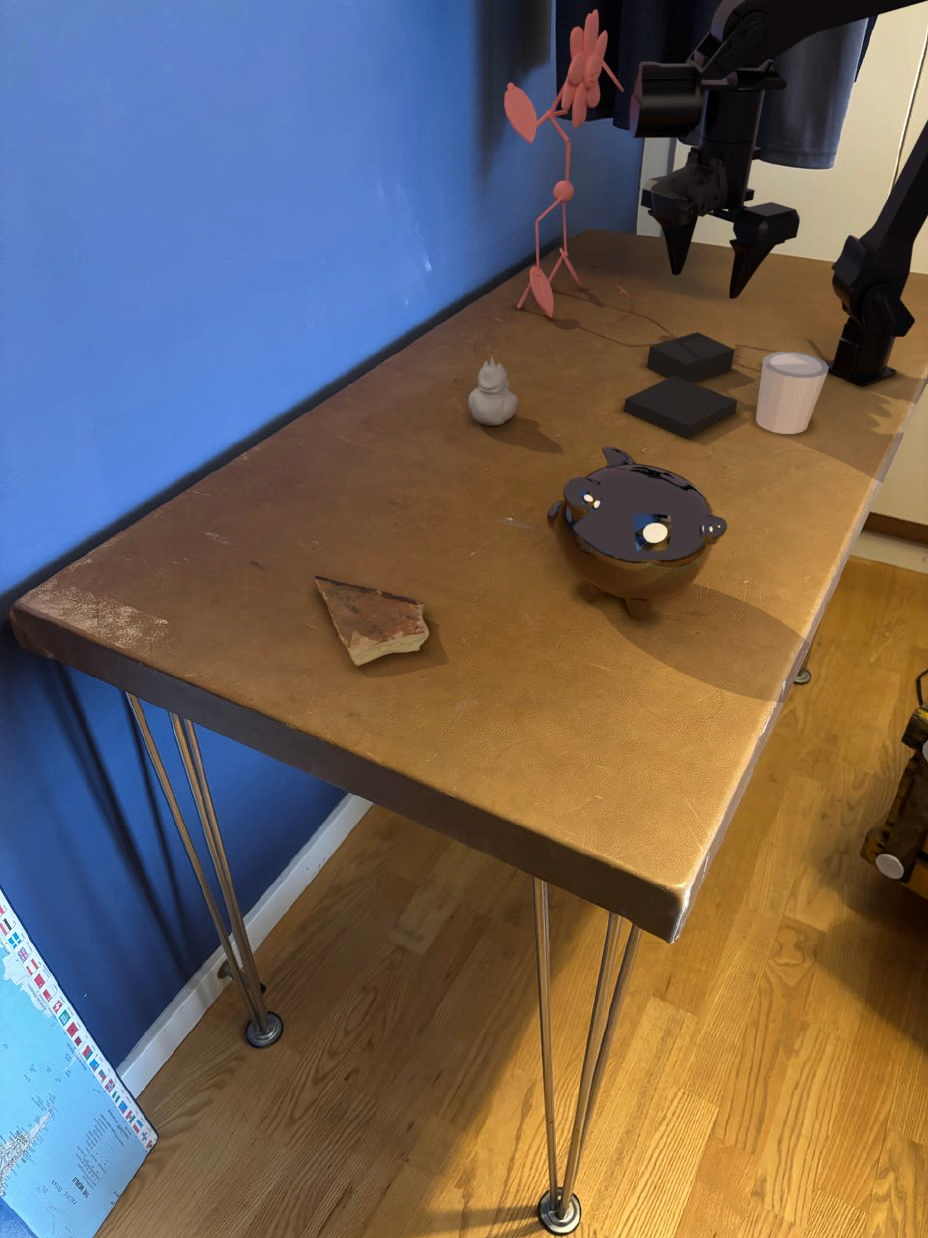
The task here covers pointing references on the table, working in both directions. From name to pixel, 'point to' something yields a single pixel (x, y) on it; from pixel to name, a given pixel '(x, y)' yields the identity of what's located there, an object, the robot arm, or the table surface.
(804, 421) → the shot glass
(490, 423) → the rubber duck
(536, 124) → the figurine
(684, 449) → the table surface
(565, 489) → the piggy bank
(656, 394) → the base pad
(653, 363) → the black pad
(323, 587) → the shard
